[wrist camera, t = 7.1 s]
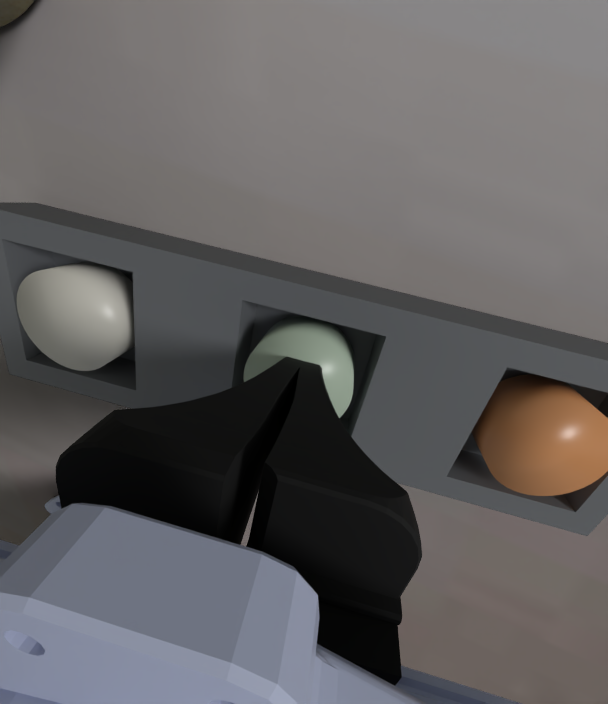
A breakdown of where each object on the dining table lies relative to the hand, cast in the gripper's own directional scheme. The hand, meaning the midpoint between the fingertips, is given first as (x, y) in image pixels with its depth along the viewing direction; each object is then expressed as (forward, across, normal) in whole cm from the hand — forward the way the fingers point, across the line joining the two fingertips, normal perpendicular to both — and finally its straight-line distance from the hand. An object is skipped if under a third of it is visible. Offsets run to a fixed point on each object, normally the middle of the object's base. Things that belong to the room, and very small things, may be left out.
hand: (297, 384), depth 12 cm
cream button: (+2, +9, 0) cm, 9 cm away
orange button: (+2, -9, 0) cm, 9 cm away
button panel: (+3, 0, 0) cm, 3 cm away
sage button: (+2, 0, 0) cm, 2 cm away
